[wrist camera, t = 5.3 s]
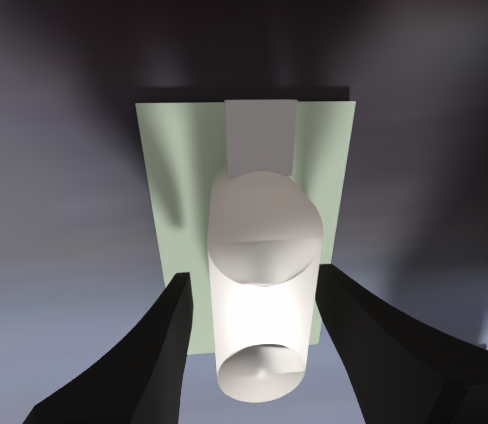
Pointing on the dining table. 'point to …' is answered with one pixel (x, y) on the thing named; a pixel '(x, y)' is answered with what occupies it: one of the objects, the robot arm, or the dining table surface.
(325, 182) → the mat
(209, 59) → the dining table surface
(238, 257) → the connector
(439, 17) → the dining table surface
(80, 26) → the dining table surface
